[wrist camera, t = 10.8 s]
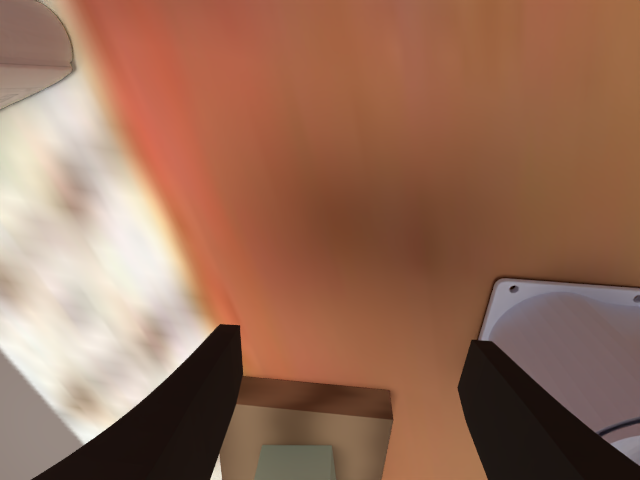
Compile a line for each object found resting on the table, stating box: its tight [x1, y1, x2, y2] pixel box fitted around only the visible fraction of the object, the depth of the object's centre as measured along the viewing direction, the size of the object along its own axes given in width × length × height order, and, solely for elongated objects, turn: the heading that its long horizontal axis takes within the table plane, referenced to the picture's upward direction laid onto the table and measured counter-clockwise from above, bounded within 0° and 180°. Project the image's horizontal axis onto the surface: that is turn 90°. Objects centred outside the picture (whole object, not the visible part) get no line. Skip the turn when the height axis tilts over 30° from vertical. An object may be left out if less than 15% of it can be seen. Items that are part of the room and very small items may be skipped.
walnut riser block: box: [220, 376, 393, 480], centre depth 28 cm, size 12×12×3 cm
